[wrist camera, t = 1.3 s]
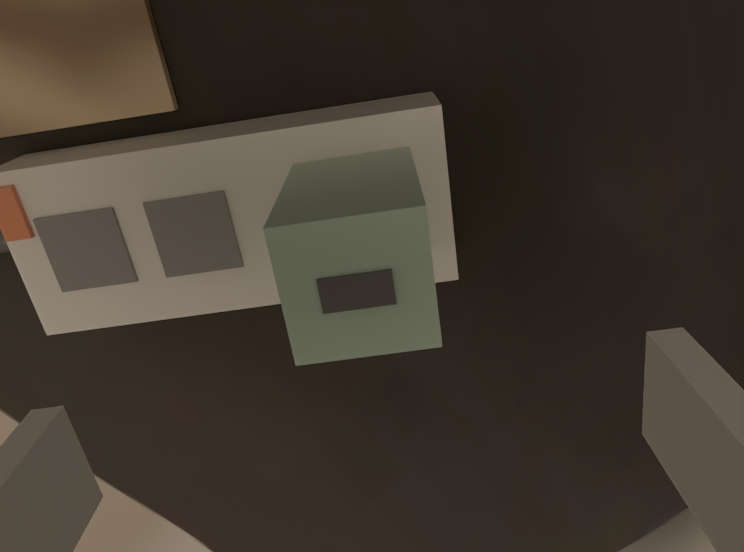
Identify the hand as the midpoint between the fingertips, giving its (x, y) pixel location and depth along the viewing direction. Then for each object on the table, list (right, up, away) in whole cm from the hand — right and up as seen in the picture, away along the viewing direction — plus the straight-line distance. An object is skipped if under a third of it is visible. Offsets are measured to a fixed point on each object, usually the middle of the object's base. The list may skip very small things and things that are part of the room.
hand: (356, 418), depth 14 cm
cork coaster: (-14, +15, +13) cm, 25 cm away
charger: (0, +7, +15) cm, 16 cm away
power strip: (-9, +7, +17) cm, 20 cm away
